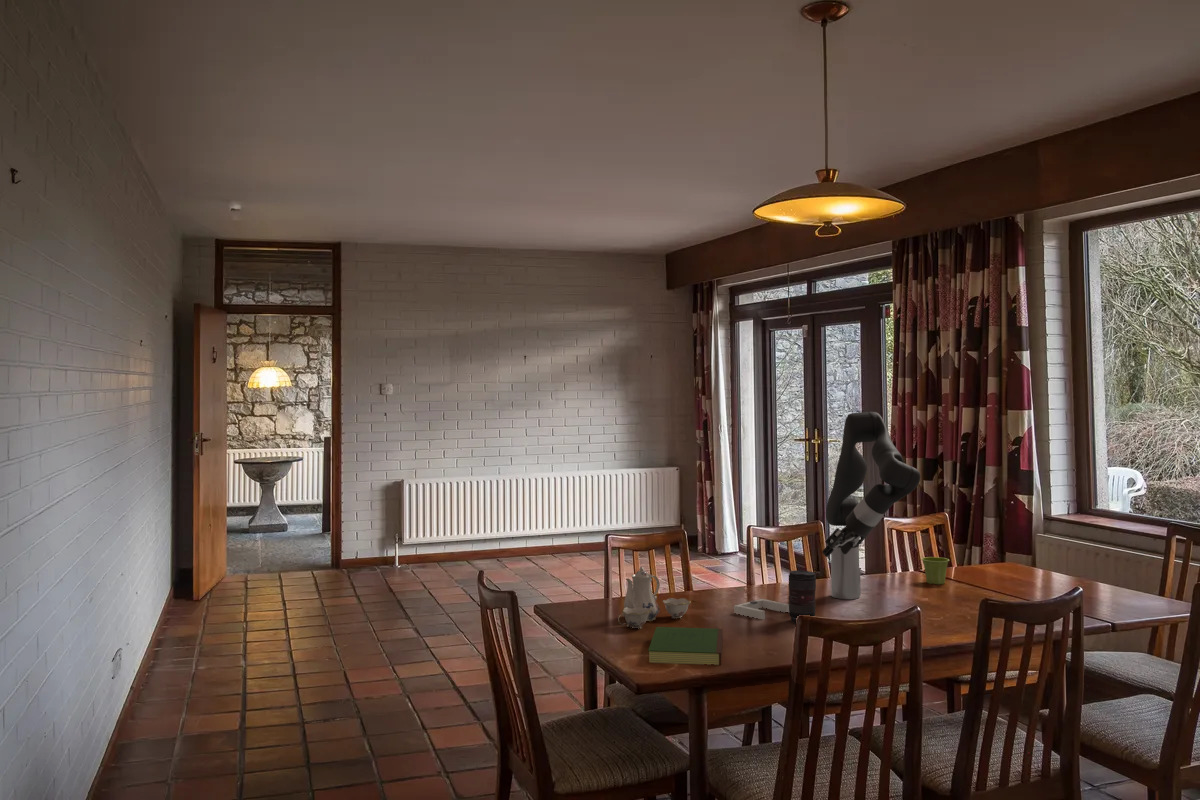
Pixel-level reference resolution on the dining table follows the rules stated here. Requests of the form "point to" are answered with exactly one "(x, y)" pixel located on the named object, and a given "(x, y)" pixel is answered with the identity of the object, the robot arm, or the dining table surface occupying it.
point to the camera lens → (801, 593)
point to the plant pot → (935, 569)
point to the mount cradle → (753, 607)
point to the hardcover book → (686, 646)
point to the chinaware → (647, 601)
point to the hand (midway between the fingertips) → (833, 553)
